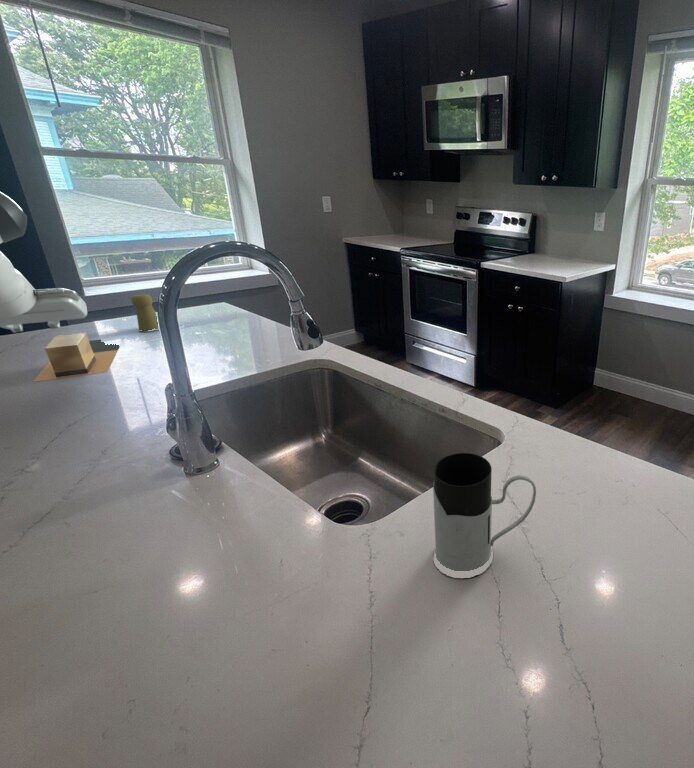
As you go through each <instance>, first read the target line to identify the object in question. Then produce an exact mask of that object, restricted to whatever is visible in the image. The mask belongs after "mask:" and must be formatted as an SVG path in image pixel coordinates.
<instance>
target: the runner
mask: <svg viewBox="0 0 694 768" xmlns="http://www.w3.org/2000/svg"><path fill="white" fill-rule="evenodd" d="M89 343H90V345H91V348H92V351H93V354H94V355H95V358H96V360H95V362H94V364H93V365H92V367H91V369H90V371H89V372H88V373H84V374H77V375H69V376H62V377H56V376H55V372H54V370H53V367H52V365H51V363H50V360H49V361H48V362H47V363H46V365H44V367H43V369H42V370H41V371H40V372H39V374H38V375H37V376H36V377H35V378H34V380H33V381H32V382H33V383H35V382H42V381H43V382H45V381H52V380H57V379H59V380H60V379H67V378H73V377H80V376H88V375H96V374H102V373H103V374H104V373H108V372H109V370H110V368H111V366H112V364H113V363H114V360H115V359H116V356H117V353H118V351H119V349H120V348H121V345H120V346H119V345H116V344H115V345H114V344H113V345H112V344H110V345H108V344H107V345H105V343H104V342H101V339H93V340H89Z"/></svg>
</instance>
